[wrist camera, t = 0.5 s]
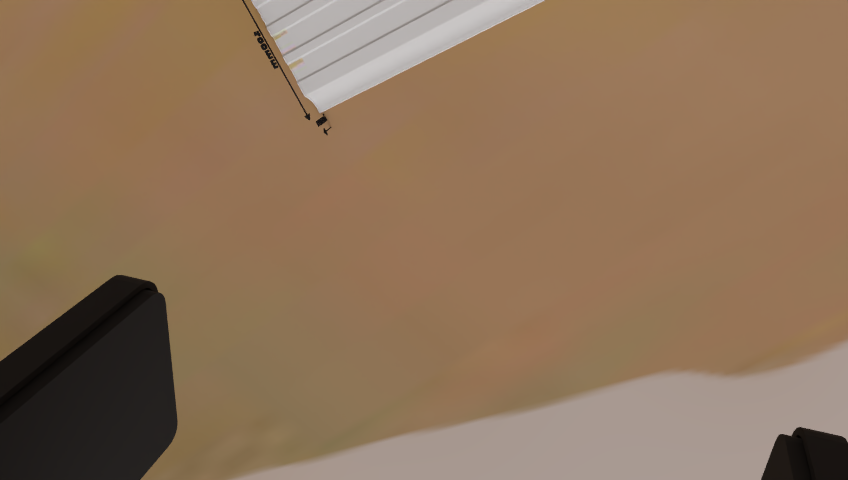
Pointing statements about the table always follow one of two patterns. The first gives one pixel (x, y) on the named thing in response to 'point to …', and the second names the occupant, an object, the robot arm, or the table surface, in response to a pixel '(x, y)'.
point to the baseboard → (369, 38)
